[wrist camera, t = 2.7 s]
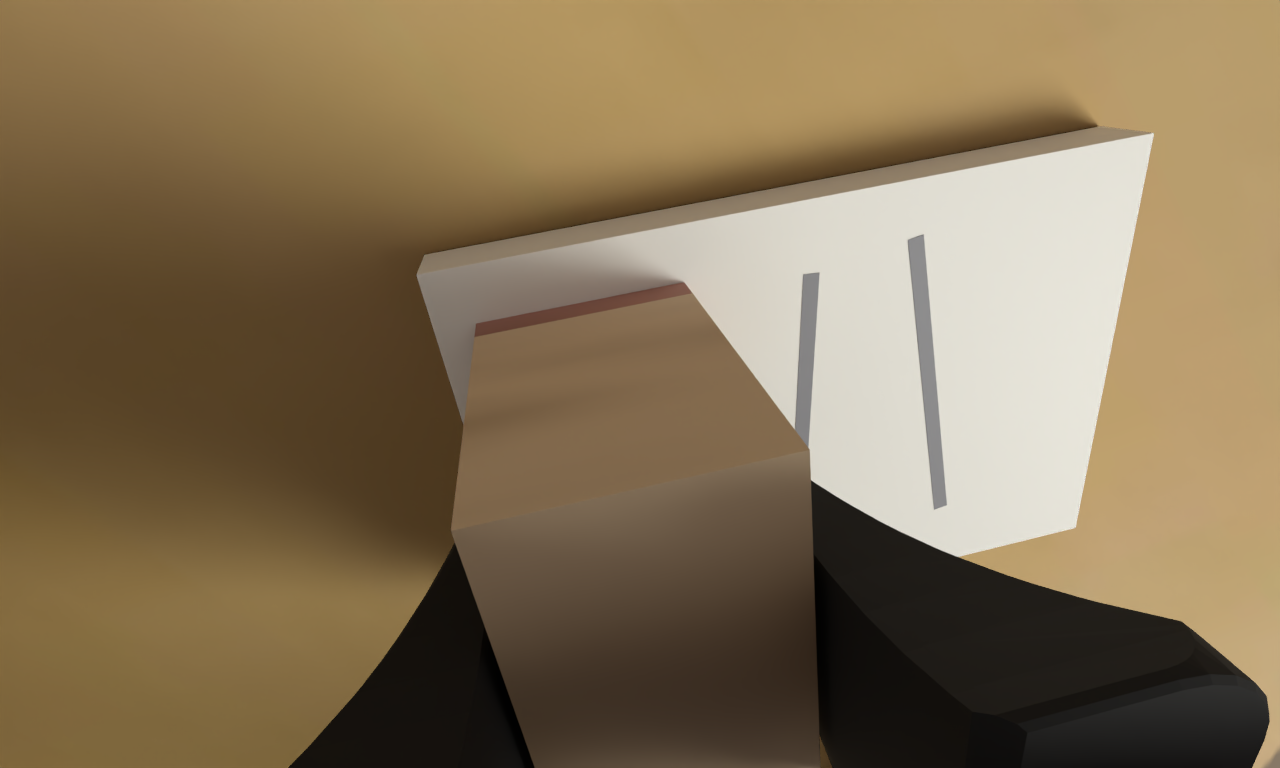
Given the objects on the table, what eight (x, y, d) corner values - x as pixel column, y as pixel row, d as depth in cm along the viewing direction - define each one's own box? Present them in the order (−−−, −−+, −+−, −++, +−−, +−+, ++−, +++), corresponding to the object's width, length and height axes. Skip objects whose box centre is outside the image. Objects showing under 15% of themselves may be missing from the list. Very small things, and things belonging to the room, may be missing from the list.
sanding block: (720, 582, 15) (822, 841, 10) (559, 620, 15) (584, 907, 10) (684, 282, 12) (809, 449, 7) (475, 323, 11) (451, 530, 6)
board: (1040, 498, 17) (1075, 528, 16) (535, 619, 16) (537, 661, 15) (1100, 126, 13) (1154, 133, 12) (424, 254, 12) (415, 275, 11)
